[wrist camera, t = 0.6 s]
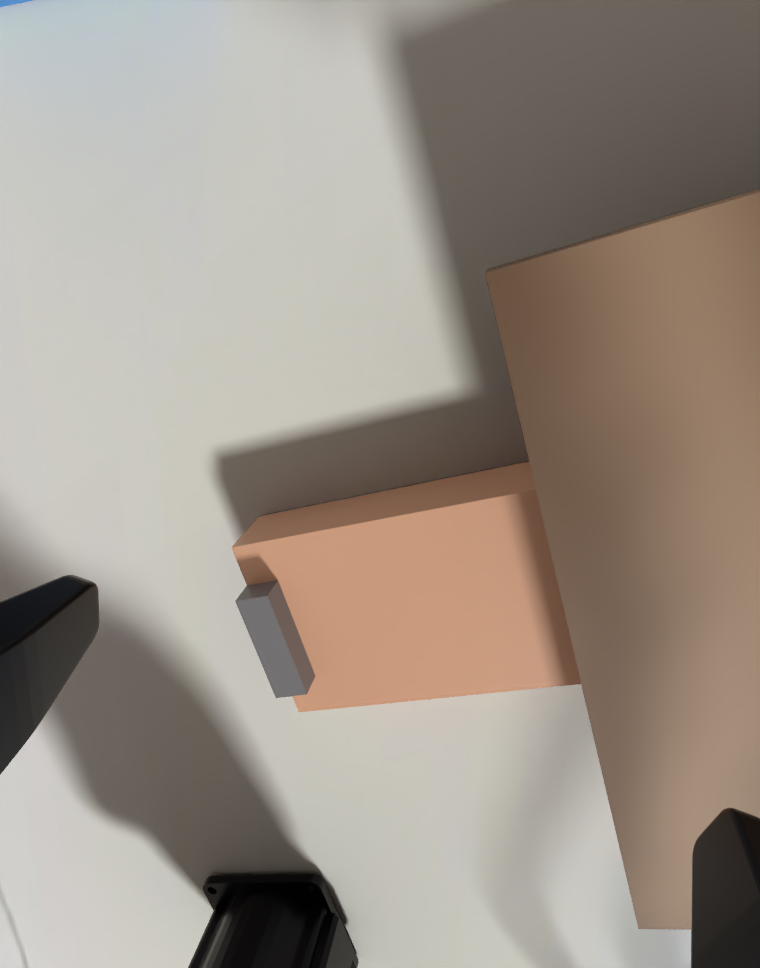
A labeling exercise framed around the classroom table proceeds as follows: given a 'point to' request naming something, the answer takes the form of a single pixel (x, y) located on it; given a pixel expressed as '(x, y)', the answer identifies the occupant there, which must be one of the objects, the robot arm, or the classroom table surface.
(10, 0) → the label tape box
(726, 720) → the low shelf
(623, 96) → the classroom table surface
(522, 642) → the pink slab with nub
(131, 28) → the classroom table surface
